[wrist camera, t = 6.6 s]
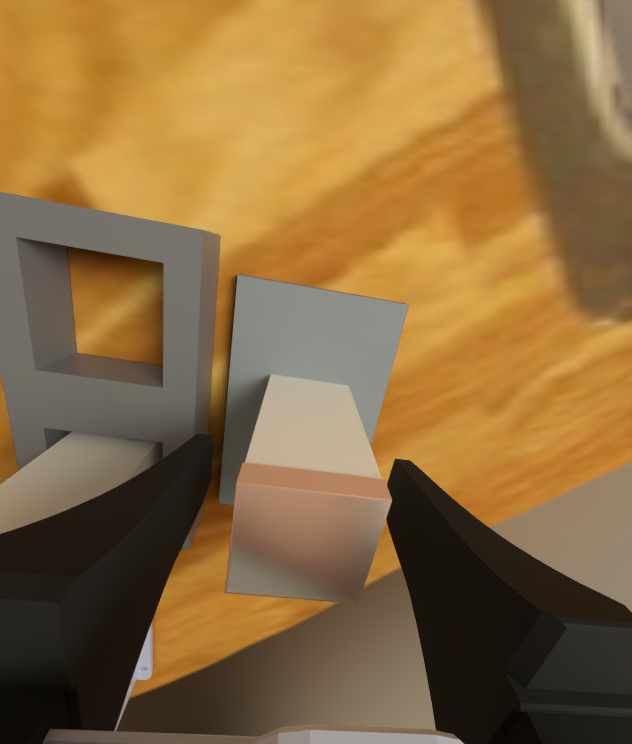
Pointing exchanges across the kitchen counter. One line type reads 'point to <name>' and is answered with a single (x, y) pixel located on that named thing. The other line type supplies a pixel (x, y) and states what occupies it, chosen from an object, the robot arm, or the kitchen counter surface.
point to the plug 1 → (72, 475)
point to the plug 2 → (306, 497)
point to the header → (94, 373)
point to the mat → (303, 354)
